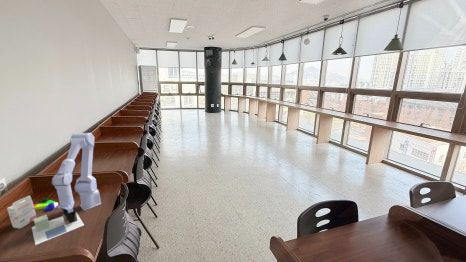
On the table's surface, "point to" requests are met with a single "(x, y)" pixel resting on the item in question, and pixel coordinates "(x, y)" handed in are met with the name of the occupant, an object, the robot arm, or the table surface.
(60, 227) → the blueprint board
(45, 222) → the sage block
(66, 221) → the walnut block
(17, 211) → the ink cartridge box
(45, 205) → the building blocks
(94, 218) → the table surface
